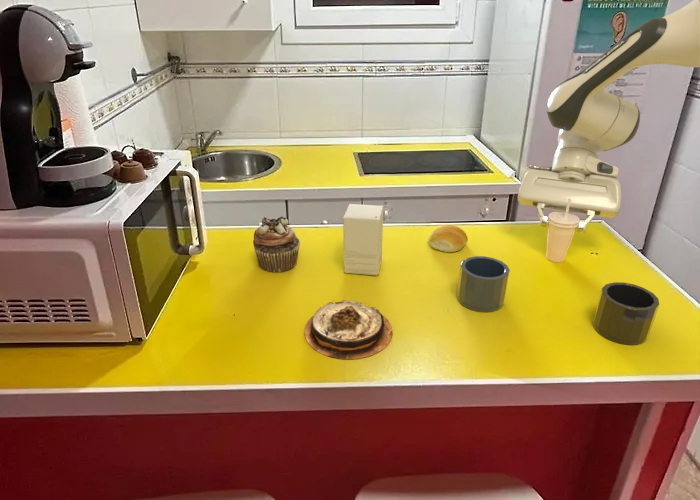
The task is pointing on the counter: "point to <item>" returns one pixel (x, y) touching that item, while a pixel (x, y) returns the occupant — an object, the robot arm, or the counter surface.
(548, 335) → the counter surface
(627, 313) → the cup
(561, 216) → the smoothie
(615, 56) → the robot arm
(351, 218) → the white packaging box
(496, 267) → the cup
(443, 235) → the bread roll
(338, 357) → the frosted layer cake
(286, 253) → the cupcake
